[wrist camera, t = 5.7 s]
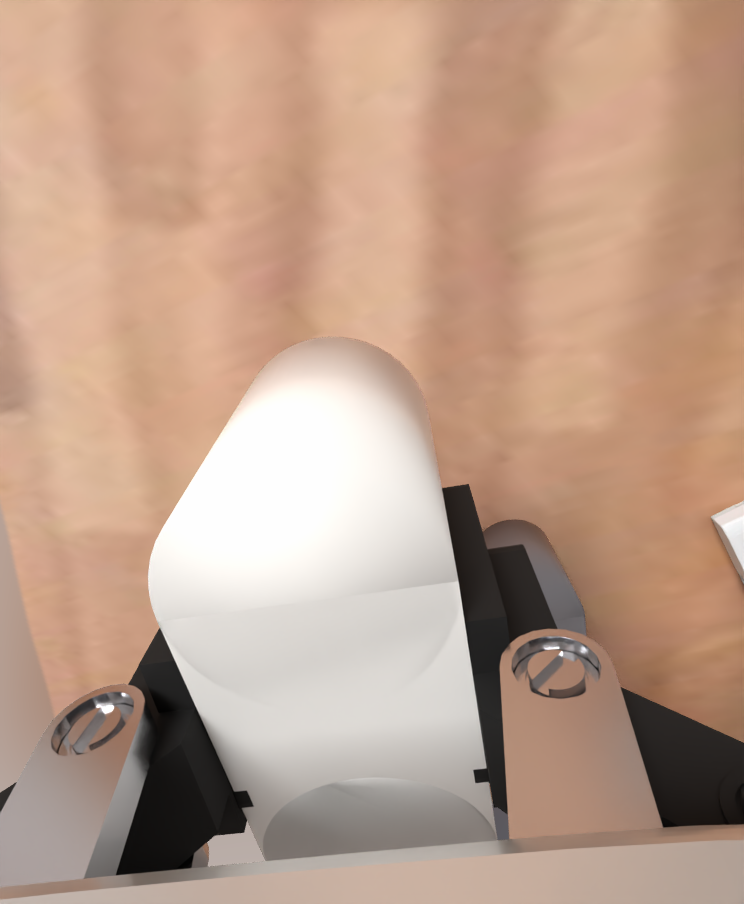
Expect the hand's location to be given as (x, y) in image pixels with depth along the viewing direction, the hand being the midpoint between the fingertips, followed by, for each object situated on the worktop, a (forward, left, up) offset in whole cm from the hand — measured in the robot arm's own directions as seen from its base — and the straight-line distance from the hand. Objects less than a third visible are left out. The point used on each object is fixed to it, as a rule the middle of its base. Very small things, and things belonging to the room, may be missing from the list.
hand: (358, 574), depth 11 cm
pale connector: (0, 0, -1) cm, 1 cm away
